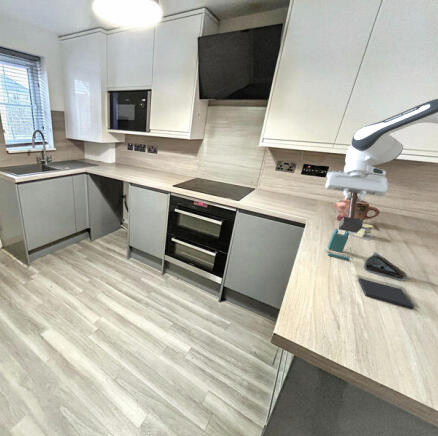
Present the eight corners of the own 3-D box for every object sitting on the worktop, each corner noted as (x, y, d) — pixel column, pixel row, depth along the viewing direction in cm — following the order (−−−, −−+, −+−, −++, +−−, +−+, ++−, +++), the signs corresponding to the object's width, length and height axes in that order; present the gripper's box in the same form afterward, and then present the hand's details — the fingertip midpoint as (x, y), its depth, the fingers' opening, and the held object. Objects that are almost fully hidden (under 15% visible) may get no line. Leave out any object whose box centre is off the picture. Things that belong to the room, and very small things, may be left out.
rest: (343, 250, 104) (351, 231, 101) (348, 260, 96) (357, 240, 93) (324, 246, 108) (331, 227, 104) (328, 255, 99) (335, 236, 96)
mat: (399, 291, 78) (400, 288, 78) (412, 309, 70) (414, 306, 70) (357, 280, 83) (358, 277, 83) (365, 295, 75) (366, 293, 75)
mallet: (350, 224, 103) (363, 192, 97) (358, 236, 91) (373, 200, 86) (334, 221, 105) (345, 189, 100) (339, 232, 93) (353, 197, 88)
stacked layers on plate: (368, 240, 116) (373, 230, 114) (346, 233, 123) (350, 223, 121) (375, 236, 121) (379, 226, 119) (353, 230, 128) (357, 220, 126)
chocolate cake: (402, 274, 89) (380, 246, 92) (410, 278, 83) (387, 248, 86) (372, 283, 93) (353, 256, 96) (378, 288, 87) (357, 258, 90)
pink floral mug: (372, 225, 137) (382, 202, 132) (372, 230, 129) (383, 206, 124) (331, 215, 149) (338, 194, 144) (328, 220, 141) (336, 198, 136)
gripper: (329, 165, 104) (325, 191, 99) (391, 171, 95) (389, 200, 90) (325, 174, 109) (321, 199, 105) (383, 180, 100) (381, 208, 95)
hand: (353, 199), depth 97 cm, fingers closed on mallet, 2 cm apart
